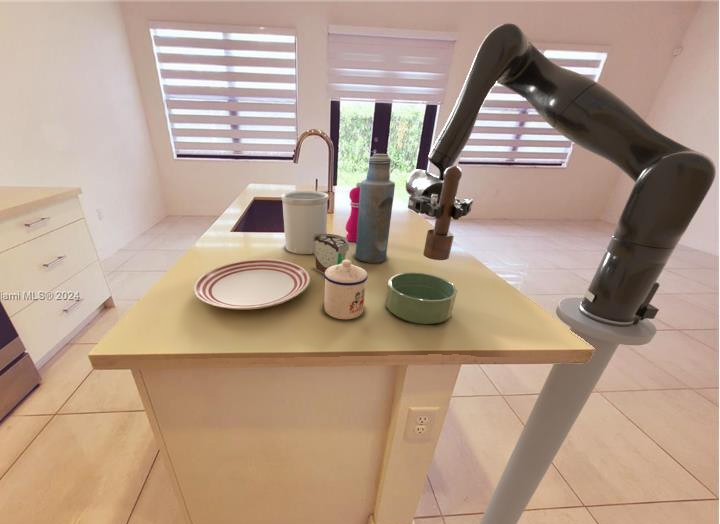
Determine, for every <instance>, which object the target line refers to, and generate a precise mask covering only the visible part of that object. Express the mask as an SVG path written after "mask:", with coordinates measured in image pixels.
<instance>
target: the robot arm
mask: <svg viewBox="0 0 720 524" xmlns="http://www.w3.org/2000/svg"><path fill="white" fill-rule="evenodd" d="M496 84H499V85H500V86H503V87H504V88H506V89H508V90H510V91H512V92H514V94H517V95H519V96H520V97H521V98H523V99H524V100H525V101H527V102H528V103H529V104H530V105H531V107H532V108H533V110H534V111H535V112H536V113H537V114H538V115H539V117H541V118H542V119H543V120H544V121H545V122H546V123H547V124H548V125H549V126H550V127H552V129H554V130H555V131H556V132H558V133H559V134H560V135H562V136H563V137H565V139H567V140H568V141H570V142H572V143H574V144H575V145H577V146H578V147H580V148H582V149H584V150H586V151H588V152H590V153H592V154H595V155H597V156H599V157H601V158H603V159H605V160H606V161H608V162H610V163H612V164H613V165H615V166H616V167H617V168H619V169H620V170H621V171H622V172H624V173H625V174H626V175H627V176H628V177H629V178H630V179H631V180H632V181H633V182H634V186H633V187H632V189H631V191H630V193H629V196H628V198H627V200H626V202H625V205H624V207H623V209H622V211H621V214H620V216H619V219H618V221H617V224H616V227H615V230H614V232H613V234H612V237H611V239H610V241H609V243H608V246H607V247H606V250H605V251H604V254H603V256H602V258H601V261H600V262H599V265H598V266H597V269H596V271H595V273H594V275H593V277H592V280H591V282H590V284H589V286H588V288H587V289H586V291H585V292H584V295H583V298H584V299H583V301H582V303H581V304H580V306H579V311H580V312H581V313H582V314H583V315H585V316H586V317H588V318H590V319H593V320H595V321H598V322H600V323H604V324H607V325H612V326H619V327H627V326H631V325H632V324H634V325H637V324H638V322H639V320H641V321H642V320H643V319H645V318H646V319H648V320H654V319H655V318H656V316H657V314H658V312H659V311H660V309H659V308H657V307H656V306H654V305H653V304H651V302H652V300H653V298H654V296H655V295H656V293H657V291H658V290H659V288H660V286H661V285H660V283H659V282H657V281H658V279H659V277H660V276H661V274H662V272H663V270H664V269H665V267H666V265H667V263H668V261H669V260H670V258H671V256H672V254H673V253H674V251H675V249H676V247H677V246H678V244H679V242H680V241H681V239H682V238H683V236H684V234H685V233H686V231H687V229H688V228H689V227H690V225H691V222H692V221H693V219H694V216H695V215H696V214H697V212H698V210H699V209H700V207H701V205H702V203H703V202H704V200H705V198H706V197H707V195H708V193H709V192H710V189H711V188H712V186H713V184H714V182H715V179H716V175H717V174H716V173H717V169H716V164H715V163H714V161H713V159H712V158H711V157H709V156H708V155H706V154H705V153H702V152H699V151H697V150H694V149H692V148H691V147H688V146H686V145H684V144H682V143H679V142H678V141H676V140H674V139H672V138H670V137H668V136H666V135H665V134H663V133H661V132H659V131H658V130H657V129H655V128H654V127H652V125H650V124H649V123H648V122H647V121H646V120H644V118H642V116H640V115H639V113H637V112H636V111H635V110H634V109H633V108H632V107H631V106H630V105H629V104H627V103H626V102H625V101H624V100H622V99H621V98H620V97H619V96H617V95H616V94H615V93H614V92H613V91H611V90H609V89H608V88H606V87H605V86H603V85H602V84H600V83H598V82H597V81H595V80H593V79H592V78H590V77H588V76H586V75H584V74H581V73H579V72H576V71H574V70H570V69H568V68H565V67H562V66H560V65H557V64H556V63H555V62H553V61H551V60H550V59H549V58H548V57H547V56H545V55H544V54H543V53H542V52H541V51H540V50H539V49H538V48H537V47H536V46H535V45H534V44H533V42H532V41H531V40H530V39H529V37H527V35H526V33H525V32H524V31H523V30H522V28H521V27H520V26H518V25H517V24H515V23H511V22H507V23H503V24H499V25H498V26H496V27H495V28H493V29H492V30H491V31H490V32H489V33H488V34H487V35H486V36H485V38H484V40H483V41H482V42H481V45H480V46H479V49H478V51H477V53H476V55H475V58H474V60H473V62H472V65H471V68H470V70H469V72H468V75H467V77H466V80H465V82H464V84H463V87H462V89H461V92H460V94H459V97H458V98H457V100H456V103H455V105H454V107H453V109H452V110H451V111H452V112H451V113H450V115H449V117H448V119H447V121H446V123H445V125H444V127H443V128H442V130H441V132H440V134H439V136H438V137H437V139H436V141H435V143H434V144H433V146H432V148H431V150H430V152H429V153H428V156H427V161H428V162H429V163H431V165H433V166H434V167H435V168H436V169H437V170H438V174H437V175H435V174H432V173H431V172H429V171H426V170H424V169H422V168H418V169H414V170H413V171H412V172H411V173H410V174H409V175H408V177H407V179H406V181H405V191H406V193H407V194H408V195H409V197H408V203H407V209H409V210H412V211H414V212H415V213H418V214H420V215H426V216H428V217H431V218H434V219H435V220H436V219H439V218H440V214H441V209H442V207H441V206H440V205H439V201H440V196H441V191H442V186H443V181H444V178H443V175H444V172H445V170H446V169H447V168H449V167H451V166H455V163H456V161H457V159H458V158H459V156H460V155H461V153H462V151H463V150H464V148H465V147H466V145H467V144H468V142H469V140H470V137H471V135H472V133H473V130H474V127H475V125H476V122H477V118H478V116H479V114H480V112H481V109H482V107H483V105H484V103H485V101H486V99H487V97H488V95H490V92H491V91H492V89H493V88H494V86H496ZM473 203H474V199H473V198H470V197H469V198H466V199H465V198H464V199H463V201H461V200H460V198H459V197H456V199H455V204H454V208H453V213H452V217H451V219H453V220H455V221H456V220H457V221H458V220H459V219H460V218H462V217H466V216H467V215H468V214H470V212H471V211H472V207H473Z"/></svg>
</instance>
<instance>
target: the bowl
mask: <svg viewBox="0 0 720 524" xmlns="http://www.w3.org/2000/svg"><path fill="white" fill-rule="evenodd" d="M387 283H388V284H387V288H386V297H385V306H386V308H387V309H388V311H389V312H390V313H392V314H393V315H395V316H396V317H398V318H400V319H402V320H404V321H406V322H410V323H413V324H420V325H433V324H439V323H443V322H445V321H447V320H448V319H450V318H451V317H452V313H453V309H454V306H455V300H456V299H457V298H456V297H457V294H458V290H457V287H456V286H455V285H454V284H453V283H452V282H451V281H449V280H447V279H445V278H443V277H440V276H437V275H434V274H429V273H424V272H402V273H397V274H395V275H393V276H391V277H390V278H389V279H388V282H387Z"/></svg>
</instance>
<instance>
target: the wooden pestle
mask: <svg viewBox="0 0 720 524" xmlns="http://www.w3.org/2000/svg"><path fill="white" fill-rule="evenodd" d="M462 175H463V171H462V169H461V168H460V167H459V166H457V165H453V166H451V167H449V168H447V169H446V170H445V172H444V175H443V178H444V181H443V186H442V191H441V196H440V201H439V205H440V206H441V207H442V209H441V214H440V218H439V219H436V218H435V222H434V228H433V229H428V230H427V232H426V237H425V243H424V246H423V247H424V248H423V253H422V254H423V256H424V257H425V258H427V259H430V260H433V261H446V260H449V258H450V256H451V251H452V246H453V242H454V238H455V233H454V232H452V231H450V226H451V222H452V213H453V208H454V204H455V199H456V198H457V195H458V189H459V185H460V180H461V178H462V177H463V176H462Z"/></svg>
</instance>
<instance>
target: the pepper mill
mask: <svg viewBox="0 0 720 524" xmlns="http://www.w3.org/2000/svg"><path fill="white" fill-rule="evenodd" d="M360 184H361V182H356V184H355V187H353V188H351V189H350V191H349V193H348V194H349V196H348V197H349V200H350V201H349V202H350V204H349V206H350V215H349V217H348V220H347V221H346V224H345V230H346V234H345V235H346V237H345V238H346V239H347V242H353V243H356V241H357V226H358V213H359V198H360Z"/></svg>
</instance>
